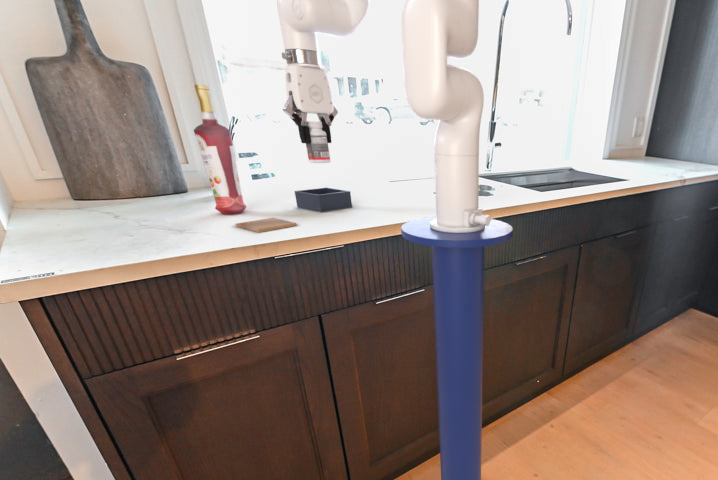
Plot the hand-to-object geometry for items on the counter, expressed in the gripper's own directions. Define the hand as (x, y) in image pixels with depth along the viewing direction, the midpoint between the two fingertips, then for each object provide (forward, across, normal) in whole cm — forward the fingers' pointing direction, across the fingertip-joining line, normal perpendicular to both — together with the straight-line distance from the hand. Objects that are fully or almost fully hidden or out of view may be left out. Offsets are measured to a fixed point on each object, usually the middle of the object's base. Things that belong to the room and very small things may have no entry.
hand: (316, 142), depth 110 cm
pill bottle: (+5, 0, 0) cm, 5 cm away
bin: (+16, 0, +1) cm, 16 cm away
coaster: (+17, -23, -9) cm, 30 cm away
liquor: (+16, -20, +11) cm, 28 cm away
